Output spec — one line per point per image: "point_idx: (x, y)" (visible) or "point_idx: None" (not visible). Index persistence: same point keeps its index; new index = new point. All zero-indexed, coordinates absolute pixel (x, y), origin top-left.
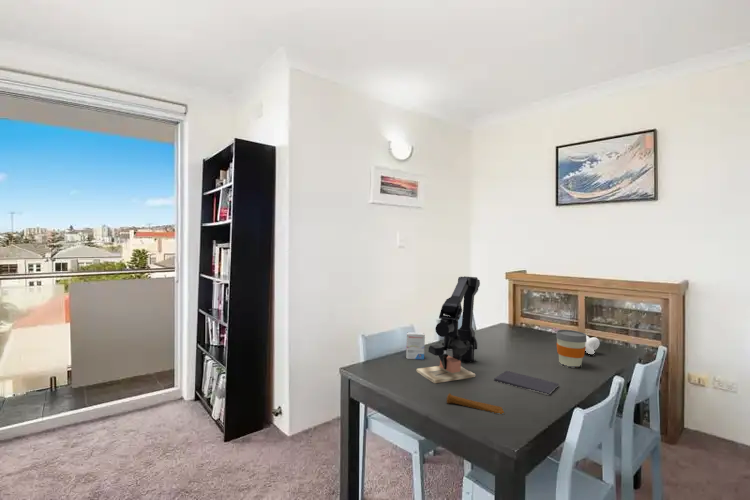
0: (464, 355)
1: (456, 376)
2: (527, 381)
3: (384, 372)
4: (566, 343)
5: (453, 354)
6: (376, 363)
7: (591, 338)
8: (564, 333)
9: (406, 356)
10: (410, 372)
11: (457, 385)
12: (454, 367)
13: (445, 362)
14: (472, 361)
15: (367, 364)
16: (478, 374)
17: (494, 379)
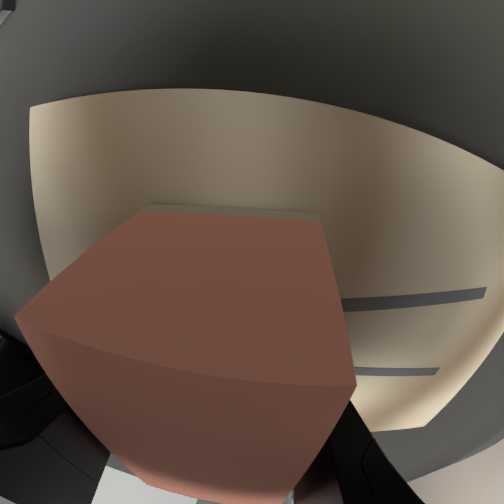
0: (17, 385)
1: (307, 122)
2: None
3: (497, 415)
4: None
5: (89, 483)
6: (425, 468)
7: None
8: None
9: (291, 492)
10: (450, 407)
11: (425, 3)
12: (262, 263)
13: (353, 438)
14: (3, 334)
15: (449, 462)
16: (10, 157)
17: (7, 7)
